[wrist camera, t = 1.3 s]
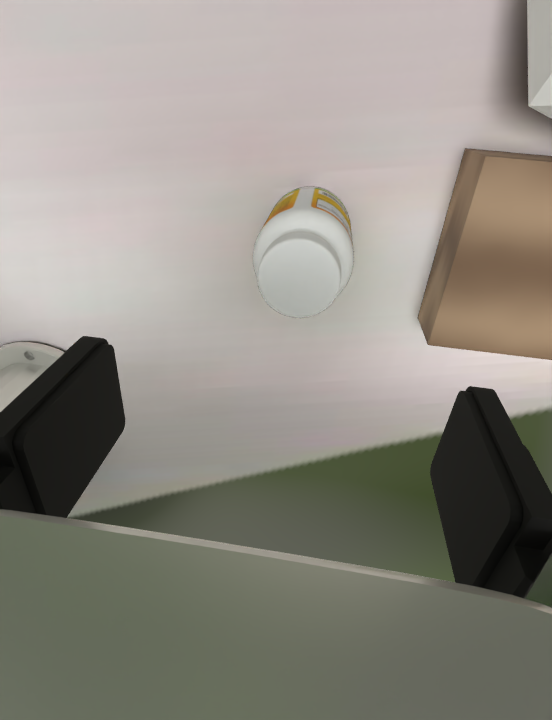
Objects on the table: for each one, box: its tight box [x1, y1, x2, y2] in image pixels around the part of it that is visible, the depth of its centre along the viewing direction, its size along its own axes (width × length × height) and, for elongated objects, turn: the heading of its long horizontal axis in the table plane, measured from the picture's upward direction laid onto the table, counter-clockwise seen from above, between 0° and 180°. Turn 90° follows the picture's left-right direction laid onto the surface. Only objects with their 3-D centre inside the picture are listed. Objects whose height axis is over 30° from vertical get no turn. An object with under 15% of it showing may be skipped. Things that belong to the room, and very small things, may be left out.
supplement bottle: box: [253, 187, 354, 318], centre depth 24 cm, size 5×5×10 cm
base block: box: [418, 148, 552, 360], centre depth 25 cm, size 11×11×4 cm
